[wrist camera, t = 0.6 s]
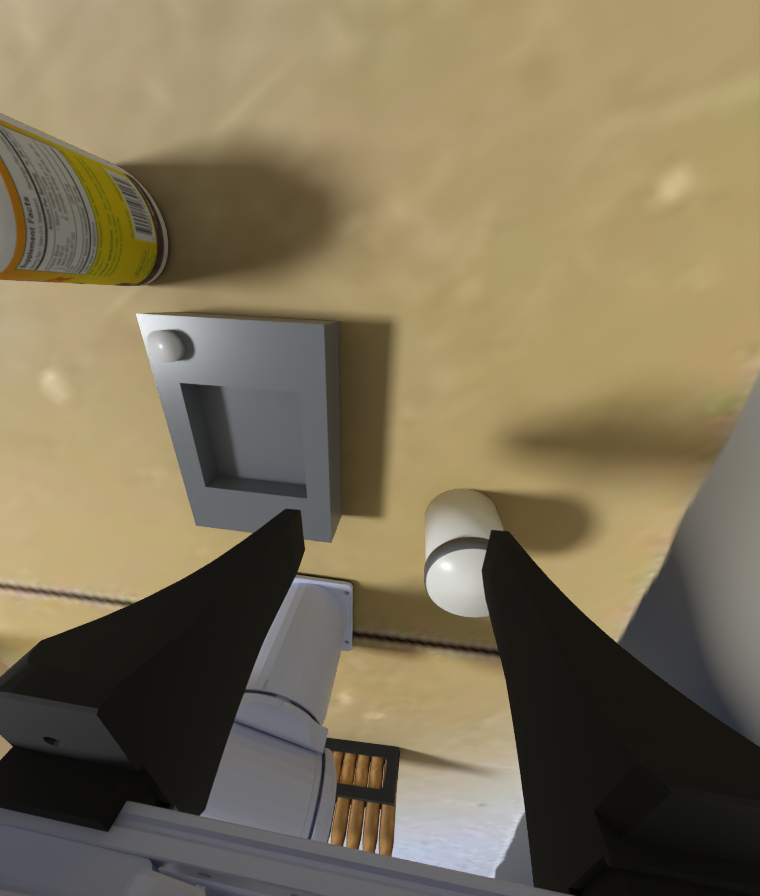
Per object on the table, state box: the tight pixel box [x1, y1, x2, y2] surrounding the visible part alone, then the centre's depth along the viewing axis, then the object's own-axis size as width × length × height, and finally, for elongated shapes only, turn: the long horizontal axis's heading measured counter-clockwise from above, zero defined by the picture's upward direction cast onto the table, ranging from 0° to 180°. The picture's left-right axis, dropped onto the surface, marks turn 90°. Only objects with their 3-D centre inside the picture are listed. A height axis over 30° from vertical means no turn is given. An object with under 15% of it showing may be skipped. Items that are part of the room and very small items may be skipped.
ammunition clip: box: [324, 738, 400, 857], centre depth 35 cm, size 11×2×12 cm, turn 95°
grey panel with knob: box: [136, 312, 342, 543], centre depth 19 cm, size 14×10×4 cm
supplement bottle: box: [0, 113, 168, 286], centre depth 12 cm, size 6×6×10 cm
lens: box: [424, 489, 504, 617], centre depth 20 cm, size 5×5×6 cm
